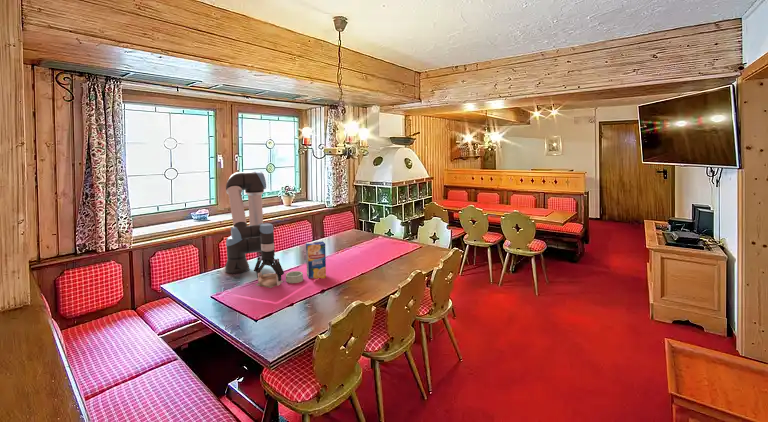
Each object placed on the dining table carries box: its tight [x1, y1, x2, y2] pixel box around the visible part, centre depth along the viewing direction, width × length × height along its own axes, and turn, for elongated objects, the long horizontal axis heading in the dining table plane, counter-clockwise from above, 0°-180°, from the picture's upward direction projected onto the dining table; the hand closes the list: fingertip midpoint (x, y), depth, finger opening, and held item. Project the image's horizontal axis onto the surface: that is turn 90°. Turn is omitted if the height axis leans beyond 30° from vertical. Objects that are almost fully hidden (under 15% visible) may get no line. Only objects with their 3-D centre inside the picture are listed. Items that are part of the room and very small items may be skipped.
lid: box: [258, 272, 278, 288], centre depth 232 cm, size 12×12×4 cm
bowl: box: [285, 270, 304, 284], centre depth 237 cm, size 10×10×5 cm
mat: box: [255, 280, 284, 289], centre depth 232 cm, size 12×12×1 cm
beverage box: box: [305, 240, 327, 280], centre depth 244 cm, size 7×11×22 cm, turn 111°
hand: (269, 284), depth 232 cm, fingers open, 13 cm apart
